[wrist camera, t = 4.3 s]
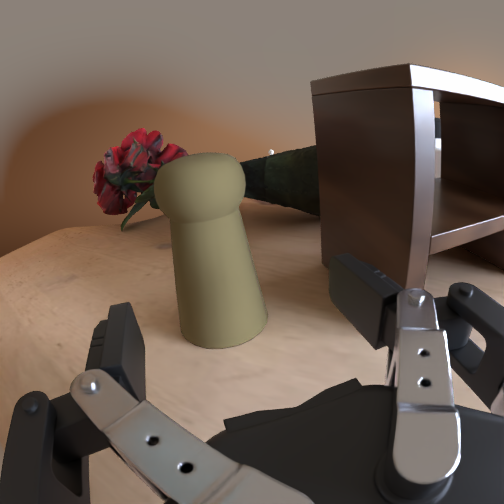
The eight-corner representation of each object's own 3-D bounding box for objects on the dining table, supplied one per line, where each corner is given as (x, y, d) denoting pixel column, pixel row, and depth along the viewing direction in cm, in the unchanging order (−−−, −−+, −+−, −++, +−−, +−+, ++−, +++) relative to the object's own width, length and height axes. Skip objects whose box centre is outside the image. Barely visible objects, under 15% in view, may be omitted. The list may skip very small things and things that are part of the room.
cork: (275, 297, 23) (260, 143, 19) (255, 353, 18) (228, 158, 14) (200, 294, 25) (173, 153, 20) (165, 342, 20) (120, 172, 15)
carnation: (331, 267, 42) (117, 251, 51) (336, 160, 49) (148, 164, 58) (331, 204, 28) (58, 204, 37) (333, 84, 35) (108, 109, 44)
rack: (445, 231, 31) (448, 91, 24) (521, 271, 21) (538, 99, 14) (321, 263, 27) (309, 81, 21) (397, 335, 18) (408, 63, 11)
